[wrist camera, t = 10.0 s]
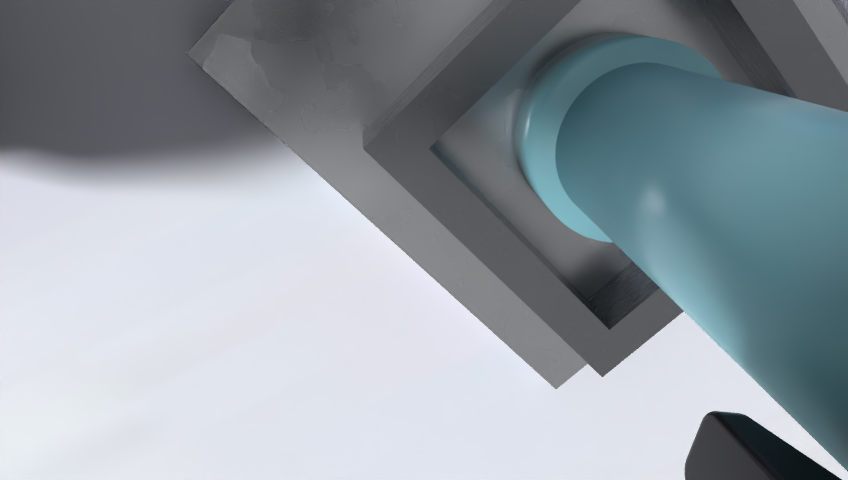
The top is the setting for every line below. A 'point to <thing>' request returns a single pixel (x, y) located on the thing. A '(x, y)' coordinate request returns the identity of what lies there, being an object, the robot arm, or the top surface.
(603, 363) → the plate
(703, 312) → the knob
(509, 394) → the top surface
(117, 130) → the top surface
